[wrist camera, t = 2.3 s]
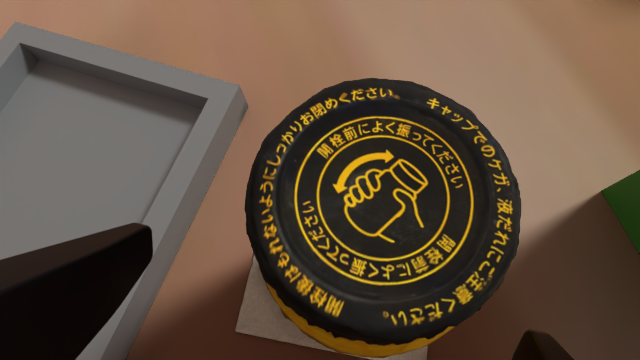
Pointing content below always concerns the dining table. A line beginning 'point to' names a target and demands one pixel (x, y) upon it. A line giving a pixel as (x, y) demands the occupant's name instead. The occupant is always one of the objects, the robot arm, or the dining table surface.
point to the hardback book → (627, 205)
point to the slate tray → (105, 154)
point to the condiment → (376, 221)
